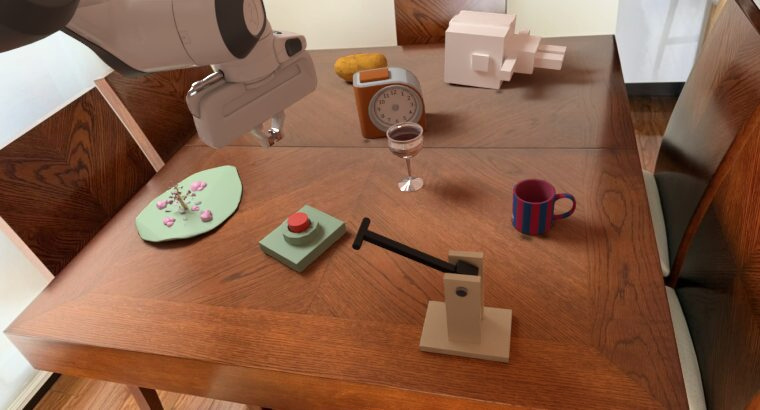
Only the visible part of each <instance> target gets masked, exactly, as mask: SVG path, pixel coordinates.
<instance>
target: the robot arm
mask: <svg viewBox="0 0 760 410" xmlns="http://www.w3.org/2000/svg"><path fill="white" fill-rule="evenodd" d="M58 32H61V33H63V34H64V35H67V36H69V37H70V38H72V39H74V40H75V41H78V42H79V43H81V44H82V45H84V46H86V47H87V48H88V49H90V50H91V51H92V52H93V53H94V54H95V55H96V56H97V57H98V58H99V59H100V60H101V61H102V62H103V63H104V64H105V65H107V66H108V67H109V68H110V69H112V70H113V71H115V72H116V73H118V74H119V75H121V76H124V77H127V78H131V79H132V78H138V77H139V78H140V77H143V76H148V75H154V74H157V73H160V72H167V71H174V70H175V71H176V70H184V69H192V68H199V67H205V66H213V67H214V70H215V71H214V72H213V73H211V74H209V75H207V76H206V77H204V78H203V79H201V80H197V81H195V82H193V83H192V84H191V86H190V89H189V90H188V91H187V94H186V96H185V103H186V105H187V108H188V110H189V112H190V113H191V115H192V117H193V123H194V126H195V129H196V132H197V135H198V139H199V140H200V141H201V143H203V144H204V145H206V146H208V147H211V148H214V149H217V150H222V149H224V148H225V147H227V146H229V145H230V144H231V143H233V142H236V141H237V140H238V139H240V138H241V137H243V136H245V135H246V134H248V133H251V134H252V135H253V136H256V138H257V139H258V142H259V145H260V146H261V147H262V148H264V149H266V150H268V149H269V148H271V147H273V146H274V145H275V143H278V142H279V141H281V140H282V139H285V133H284V130H283V128H284V123H285V118H286V113H285V110H287V109H288V108H289V107H291V106H293V105H294V104H296V103H297V102H299V101H300V100H303V99H304V98H306V97H307V96H309V95H310V94H312V93H313V92H315V91H316V90H317V86H318V81H319V80H318V76H317V71H316V68H315V64H314V61H313V58H312V56H311V53H310V52H309V50H306V49H307V47H308V46H307V45H308V44H307V43H308V42H307V38H306V36H305V35H303V34H300V33H296V32H293V31H287V30H283V29H273V27H272V25H271V23H270V21H269V19H268V17H267V11H266V8H265V3H264V0H0V54H3V53H7V52H11V51H13V50H16V49H19V48H23V47H26V46H29V45H31V44H35V43H37V42H39V41H42V40H44V39H46V38H48V37H50V36H52V35H54V34H56V33H58ZM270 119H271V127H270V128H268V129H267V132H266V131H263V130H264V125H263V124H264V123H265V122H267V121H268V120H270Z"/></svg>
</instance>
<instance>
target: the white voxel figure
mask: <svg viewBox="0 0 760 410" xmlns="http://www.w3.org/2000/svg"><path fill="white" fill-rule="evenodd" d="M516 23H517V14H513V13H512V14H511V13H500V12H488V11H476V10H465V9H461V10H460V11H459V13H457V14H455V15H454V16H453V17H452V18H451V19H450V20H449V22H448V27H447V29H446V30H445V33H444V36H445V37H444V71H443V72H444V75H443V78H444V80H443V82H444V83H448V84H456V85H461V86H471V87H478V88H484V89H492V90H500V89H501V86H502V84H503V82H510V81H511V79H512V76H513V75H514V73H517V74H527V75H532V74H533V72H534V70H535V68H541V69H548V70H549V69H550V70H556V71H557V70H558V71H561V70H562V66H563V62H564V60H565V56H566V53H567V46H562V45H555V44H542V38H543V37H542V36H539V35H530V33H531V28H524V27H522V28H520V30H519V32H518V33H515V32H516V31H515V30H516V25H517V24H516Z"/></svg>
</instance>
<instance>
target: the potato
mask: <svg viewBox="0 0 760 410" xmlns="http://www.w3.org/2000/svg"><path fill="white" fill-rule="evenodd" d="M388 64H389V63H388V59H387V57H386V56H385V54H383V53H380V52H370V53H362V52H361V53H355V54H354V53H353V54H351V55H343V56H341V57H339V58H338V59H336V61H335V62H334V66H333V69H334V72H335V74H336V75H337V76H338V78H340V79H342V80H344V81H346V82H350V83H353V75H354V74H355V73H357V72H359V71H365V70H372V69H379V68H386V67H388V66H389V65H388Z"/></svg>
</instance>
